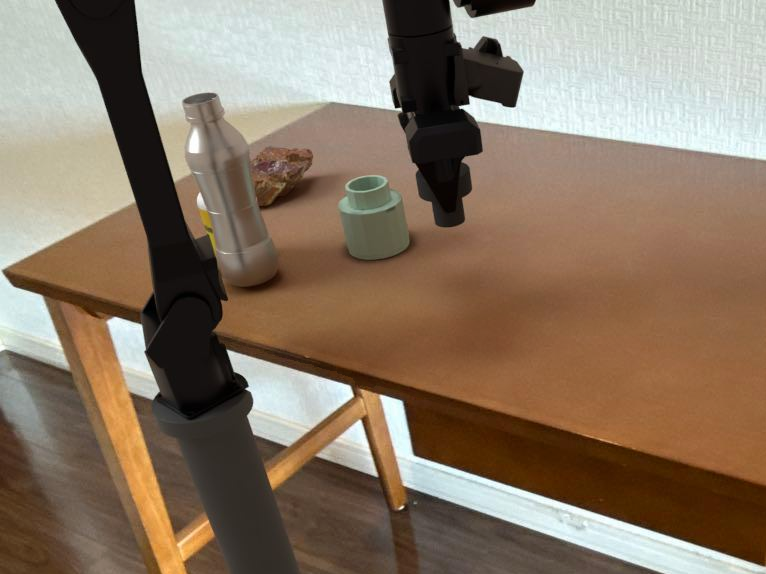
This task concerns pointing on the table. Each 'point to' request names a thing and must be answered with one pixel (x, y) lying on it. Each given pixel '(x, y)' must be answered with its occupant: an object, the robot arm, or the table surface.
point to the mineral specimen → (278, 171)
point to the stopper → (427, 195)
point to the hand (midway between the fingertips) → (446, 201)
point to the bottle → (373, 218)
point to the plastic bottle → (228, 193)
